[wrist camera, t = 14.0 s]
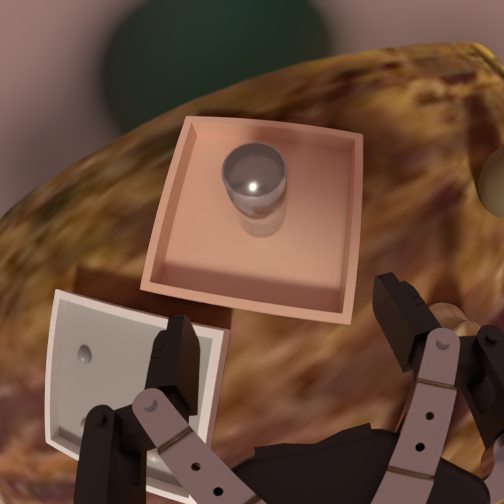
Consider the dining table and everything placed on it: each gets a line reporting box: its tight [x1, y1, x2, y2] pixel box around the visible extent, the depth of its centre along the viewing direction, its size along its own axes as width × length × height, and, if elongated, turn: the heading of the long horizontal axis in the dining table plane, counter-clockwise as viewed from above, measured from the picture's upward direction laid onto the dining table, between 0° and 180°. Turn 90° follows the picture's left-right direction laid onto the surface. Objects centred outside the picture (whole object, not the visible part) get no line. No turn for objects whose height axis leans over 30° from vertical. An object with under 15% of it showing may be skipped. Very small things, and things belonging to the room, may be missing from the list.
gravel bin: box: [45, 289, 230, 504], centre depth 25 cm, size 18×18×4 cm
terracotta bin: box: [140, 116, 363, 325], centre depth 28 cm, size 18×18×4 cm
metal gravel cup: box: [221, 142, 288, 238], centre depth 24 cm, size 4×4×9 cm
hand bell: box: [412, 302, 480, 372], centre depth 17 cm, size 8×8×16 cm
